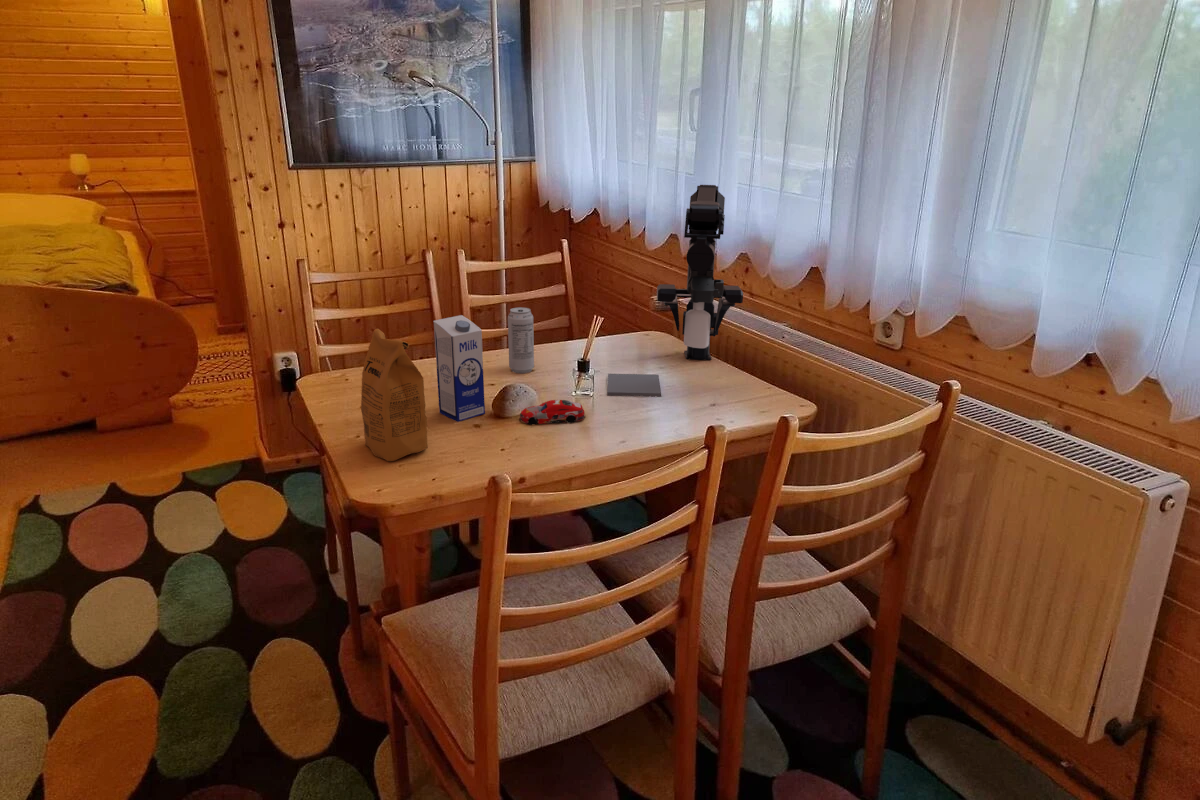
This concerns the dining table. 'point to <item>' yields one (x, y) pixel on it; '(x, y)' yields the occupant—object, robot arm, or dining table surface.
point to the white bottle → (697, 327)
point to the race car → (553, 412)
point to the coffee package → (392, 400)
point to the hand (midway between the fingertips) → (697, 330)
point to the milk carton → (459, 368)
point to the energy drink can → (521, 340)
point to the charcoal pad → (633, 385)
